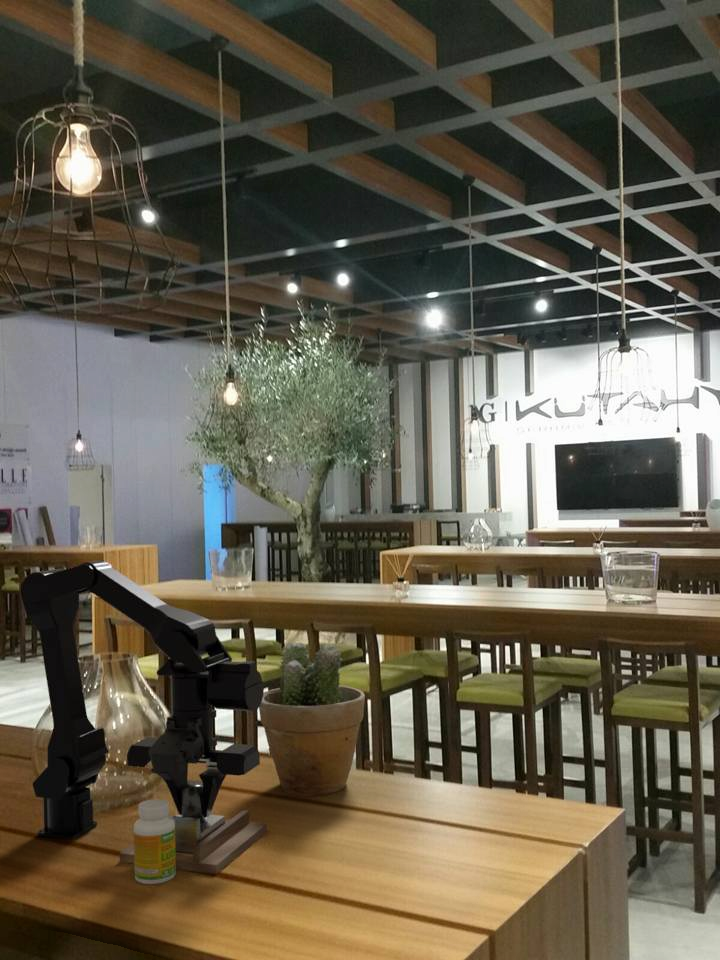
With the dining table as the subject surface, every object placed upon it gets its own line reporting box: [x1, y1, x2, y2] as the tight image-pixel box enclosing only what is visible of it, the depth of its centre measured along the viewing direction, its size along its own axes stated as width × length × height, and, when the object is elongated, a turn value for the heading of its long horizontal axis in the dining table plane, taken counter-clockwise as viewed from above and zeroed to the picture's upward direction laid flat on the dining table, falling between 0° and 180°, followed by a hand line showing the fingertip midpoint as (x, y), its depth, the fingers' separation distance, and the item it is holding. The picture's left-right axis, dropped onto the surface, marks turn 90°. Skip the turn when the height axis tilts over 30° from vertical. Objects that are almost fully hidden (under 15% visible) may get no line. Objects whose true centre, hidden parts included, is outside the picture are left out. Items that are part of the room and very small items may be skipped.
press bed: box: [119, 809, 268, 875], centre depth 137 cm, size 15×16×3 cm
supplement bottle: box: [133, 798, 177, 885], centre depth 126 cm, size 5×5×10 cm
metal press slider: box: [168, 780, 226, 853], centre depth 135 cm, size 7×8×7 cm
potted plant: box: [258, 641, 366, 797], centre depth 163 cm, size 18×19×25 cm
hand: (194, 815), depth 136 cm, fingers closed on metal press slider, 4 cm apart
